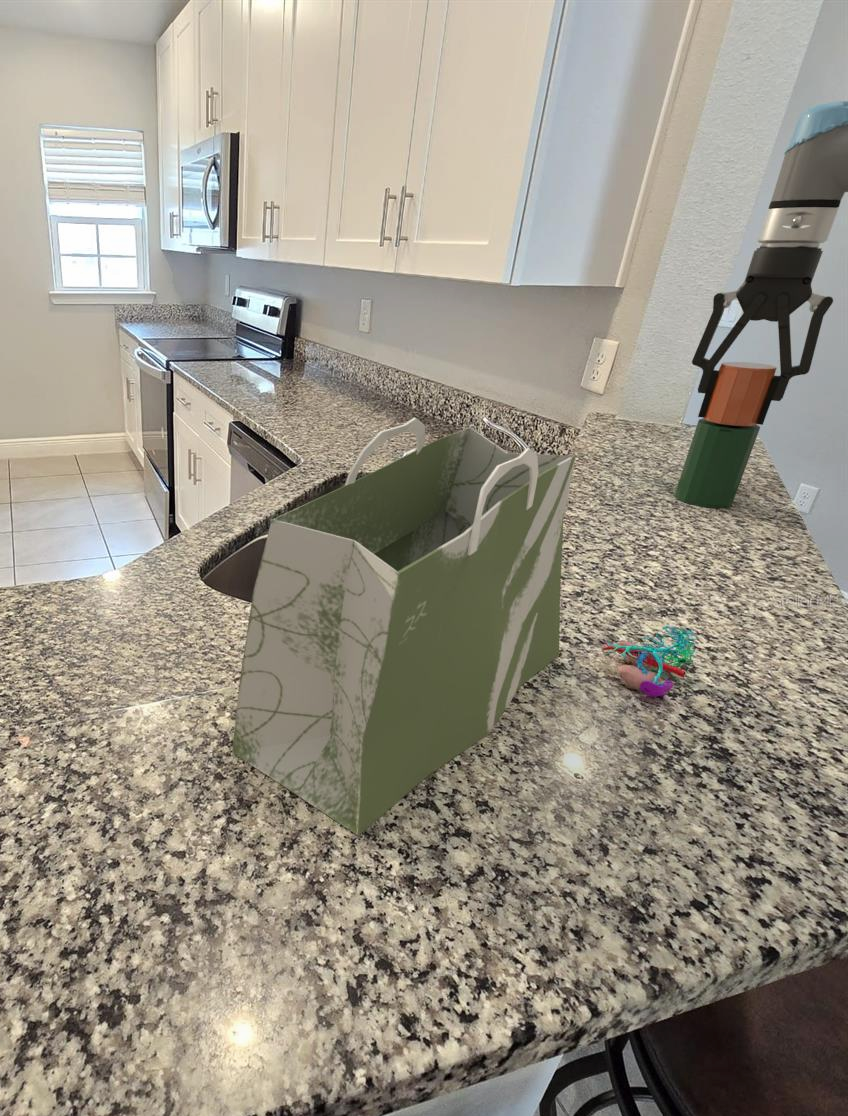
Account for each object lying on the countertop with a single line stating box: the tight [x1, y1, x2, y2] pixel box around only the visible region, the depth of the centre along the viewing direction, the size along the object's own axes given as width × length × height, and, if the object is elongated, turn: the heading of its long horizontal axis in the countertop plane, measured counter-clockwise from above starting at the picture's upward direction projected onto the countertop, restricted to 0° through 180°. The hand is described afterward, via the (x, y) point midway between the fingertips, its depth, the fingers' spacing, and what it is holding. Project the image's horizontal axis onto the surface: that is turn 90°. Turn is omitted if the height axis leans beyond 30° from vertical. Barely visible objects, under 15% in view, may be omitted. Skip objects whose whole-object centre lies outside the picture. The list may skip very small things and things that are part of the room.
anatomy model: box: [601, 625, 699, 698], centre depth 60 cm, size 5×8×7 cm
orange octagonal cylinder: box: [702, 361, 778, 426], centre depth 98 cm, size 7×7×8 cm
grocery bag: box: [231, 417, 577, 837], centre depth 52 cm, size 32×14×23 cm, turn 136°
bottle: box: [674, 418, 761, 509], centre depth 102 cm, size 8×8×17 cm
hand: (730, 419), depth 100 cm, fingers closed on orange octagonal cylinder, 7 cm apart
